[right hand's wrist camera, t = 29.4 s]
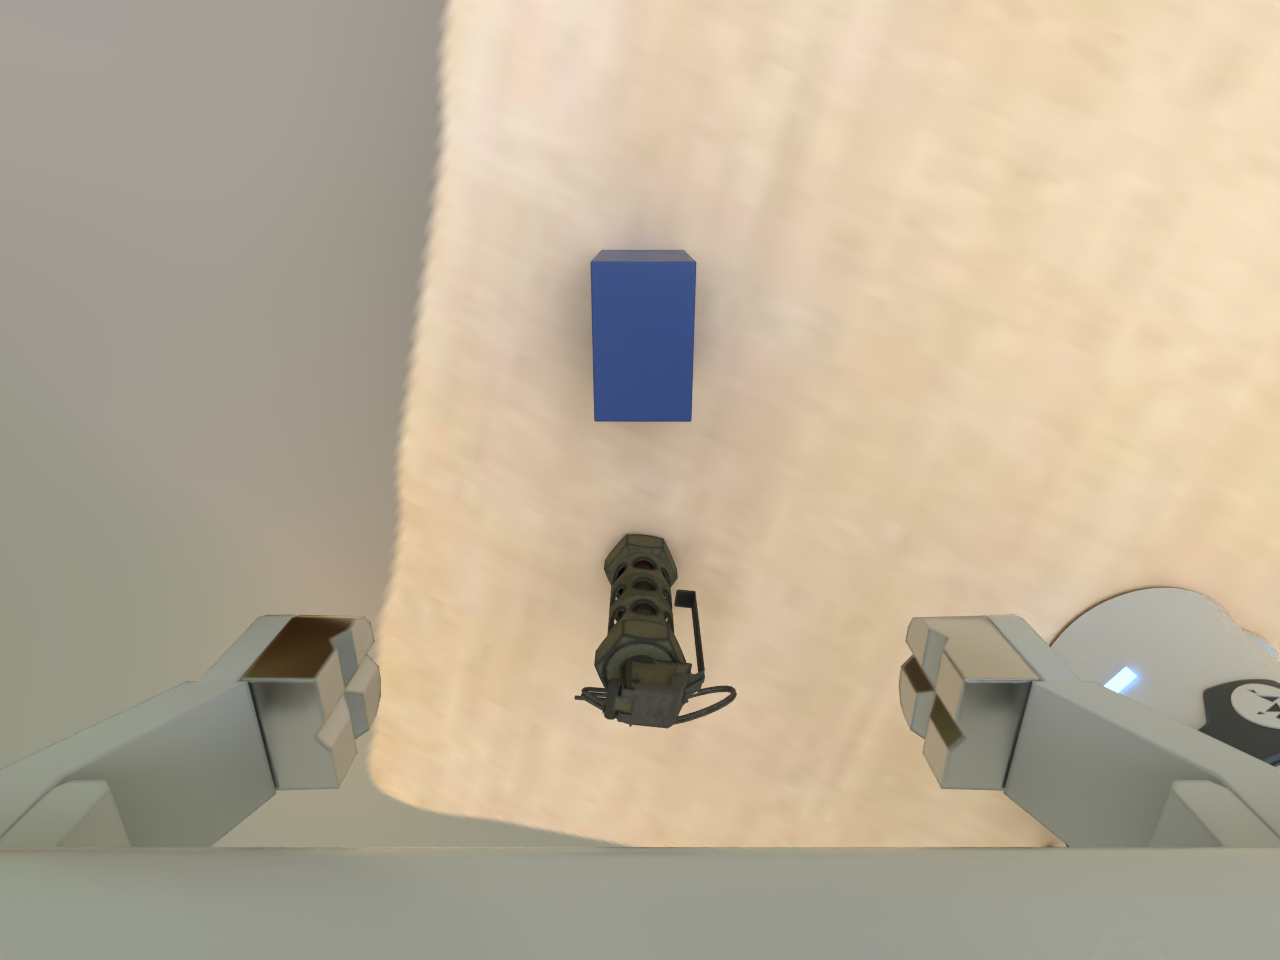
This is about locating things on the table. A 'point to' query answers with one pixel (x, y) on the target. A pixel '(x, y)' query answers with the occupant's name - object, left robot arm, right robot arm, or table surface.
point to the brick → (643, 335)
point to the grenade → (647, 641)
